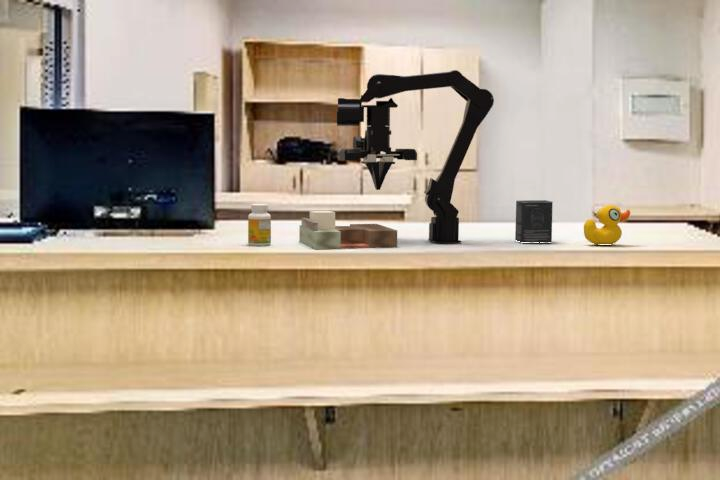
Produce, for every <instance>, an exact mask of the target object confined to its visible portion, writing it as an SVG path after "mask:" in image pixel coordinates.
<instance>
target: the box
mask: <svg viewBox="0 0 720 480" xmlns="http://www.w3.org/2000/svg"><path fill="white" fill-rule="evenodd" d="M515 205H516V206H515V237H514V238H515V240H517V241H520V242H539V243H538V244H541V243H540V242H552V243H553V241H552V237H553V234H552V233H553V201H550V200H545V199H544V200H542V199H541V200H539V199H538V200H537V199H536V200H532V199H531V200H527V199H526V200H516V203H515ZM515 240H514V241H515Z"/></svg>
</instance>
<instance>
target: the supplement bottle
mask: <svg viewBox="0 0 720 480" xmlns="http://www.w3.org/2000/svg"><path fill="white" fill-rule="evenodd" d="M250 210H251V213H249V214H248V217H247V222H248V223H247V229H248V230H247V234H248V235H247V236H248V239H247V243H248V245H249V246H252V247H254V246H255V247H266V246H271V242H272V230H271V229H272V216H271V214H270V213H268V210H269V205H268V204H267V203H252V204H251V206H250Z"/></svg>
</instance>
